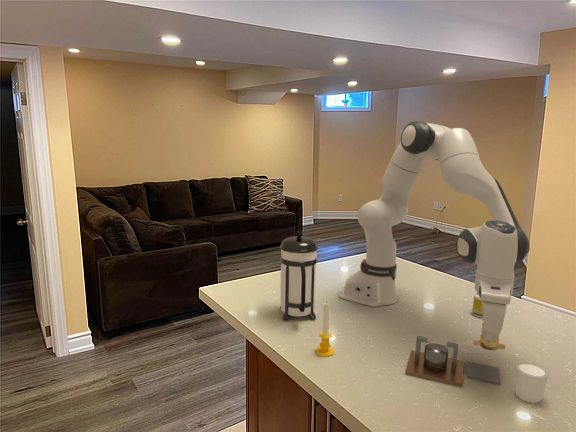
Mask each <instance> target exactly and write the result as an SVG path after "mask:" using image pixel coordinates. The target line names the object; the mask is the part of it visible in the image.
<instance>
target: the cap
mask: <svg viewBox="0 0 576 432" xmlns="http://www.w3.org/2000/svg"><path fill="white" fill-rule="evenodd" d="M481 324H482V326H481V332H480V333H481V334H480V335H479V338H480V339H479V340H478V339H472V345H473V346H478V347H480V348H481V349H483V350H486V351H497V350H506V344H504V343H500V334H494V335H493V340H492V341H488V340H486V339H485V332H484V327H483V322H482V323H481Z"/></svg>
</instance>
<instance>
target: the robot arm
mask: <svg viewBox="0 0 576 432" xmlns="http://www.w3.org/2000/svg"><path fill="white" fill-rule="evenodd" d="M430 159H431V160H436V161H439V166H440V170H441V175H442V177H443V178H442V179H443V181H444V183H445V184H446V186H448V188H449V189H451V190H453V191H455V192H457V193H459V194H463V195H466V196H470V197H472V198H474V199H477V200H479V201H480V202H482V203H483V204H484V205H485V206H486V207H487V209H488V211H489V213H490V215H491V218H492V220H487V221H485V222H484V223H483V224H482V225H480V226H476V227H470V228H464V229H463V230H461V232H460V233H459V235H458V236H457V238H456V244H455V248H456V249H455V250H456V253H457V255H458V257H459V258H460V259H461V260H463V262H466V263H469V264H475V265H476V266H477V268H476V270H475V278H474V290H475V292H476V293H477V292H478V294H479V296H480V300H481V301H482V311H483V318H482V321H483V322H482V323H483V327H484V332H485V339H486V340H488V341H492V340H493V335H494V334H499V335H500V334H501V333H502V330H503V326H504V322H505V316H506V311H507V305H510V303H511V297H512V295H513V293H514V283H515V276H516V275H515V270H514V269H515V265H518V264H520V263H521V262H522V261H523V260H524V259H525V258H526V257H527V256H528V254H529V252H530V248H531V247H530V240H529V238H528V236H527V234H526V233H525V232H524V230H523V229H522V227H521V226H520V224H519V222H518V220H517V218H516V216H515V214H514V212H513V209H512V207H511V205H510V202H509V201H508V198H507V196H506V194H505V192H504V190H503V188H502V185H501V183H500V182H499V181H498V180H497V178H495V177H493V176H492V175H491V174H490V173H489V172H488V171H487V169H486V168H485V166H484V165H483V163H482V161H481V157H480V154H479V151H478V148H477V145H476V143H475V140H474V138H473V136H472V135H471V132H469V131H468V130H467V129H465V128H461V127H453V128H450V127H448V126H446V125H445V126H444V125H441V124H435V123H431V122H430V123H429V122H425V121H420V120H414V121H411V122H408V124H407V125H406V126H404V128H403V130H402V132H401V135H400V141H399V144H398V145H397V147H396V148H395V150H394V152H393V154H392V156H391V158H390V160H389V162H388V165H387V167H386V169H385V172H384V174H383V177H382V179H381V182H382V185H383V186H382V191H381V196H379V198H378V199H374V200H370V201H367V202H366V203H365V204H363V205H362V206H361V207H360V208H359V210H358V212H357V221H358V223H359V225H360V227H361V228H362V229H363V231H364V234H365V236H364V237H365V239H366V240H365V241H366V256H365V257H366V258H363V259H362V260H361V263H360V265H359V266H360V268H359V269H360V270H358V271H356V272H355V273H353V274H352V275H350V276H349V277H348V278H347V279H346V282H345V285H344V286H343V287H341V288H340V290H339V291H338V293H337V294H338V297H339V299H341V300H345V301H350V302H353V303H357V304H361V305H366V306H369V307H373V308H377V307H380V306H381V307H382V306H389V305H393V304H395V303H396V302H398V296H397V295H398V294H397V290H396V289H397V288H396V278H397V273H398V272H397V271H398V270H397V263H396V262H397V249H398V248H397V242H396V241H395V240H394V237H393V232H392V228H393V226H396V225H400V224H401V223H402V222H403V221H404V220H405V219H406V218H407V217H408V213H409V205H408V204H409V200H410V197H411V192H412V190H413V188H414V186H415V184H416V181H417V179H418V178H419V175H420V173H421V170H422V168H423V166H424V164H425V162H426V161H427V160H430Z"/></svg>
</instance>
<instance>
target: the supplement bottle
mask: <svg viewBox="0 0 576 432" xmlns="http://www.w3.org/2000/svg"><path fill="white" fill-rule="evenodd" d="M471 314H472V315H473V316H474V317H476V318H481V319H483V311H482V301H481V300H480V296H479V294H478V292H477V291H476V292H475V293H474V295H473V300H472V309H471Z"/></svg>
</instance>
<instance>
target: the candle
mask: <svg viewBox="0 0 576 432" xmlns="http://www.w3.org/2000/svg"><path fill="white" fill-rule="evenodd" d="M322 312H323V313H322V314H323V316H322V331H321V332H320V333H319V334H318V337H320V338H321V339H320V340H321V342H320V343H319V347H317V348H315V353H316V354H317V356H320V357H324V358H326V357H327V358H329V357H331V356H333V355H334V353H335V350H334V349H333V347H331V346H332V345H331V343H330V339H331V338H332V337H333V333H331V332H329V331H330V330H329V328H330V327H329V326H330V303H328V302H327V301H326V302H325V303H323V311H322Z"/></svg>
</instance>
